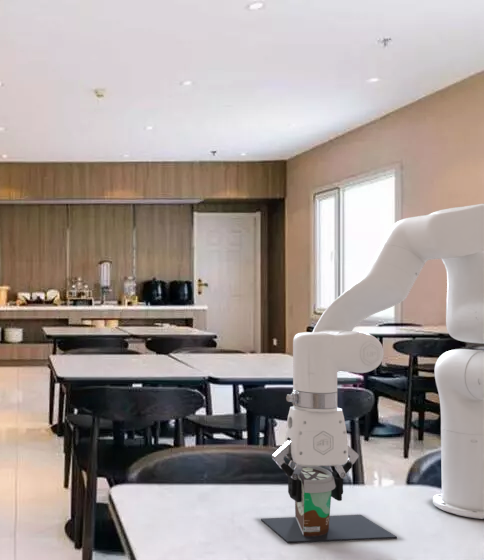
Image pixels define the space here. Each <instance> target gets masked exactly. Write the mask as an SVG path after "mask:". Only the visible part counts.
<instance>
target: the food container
mask: <svg viewBox="0 0 484 560" xmlns="http://www.w3.org/2000/svg"><path fill="white" fill-rule="evenodd" d="M299 479H300V480H301V492H302V501H301V502H296V501H295V500H294V509H295V510H294V511H295V512H294V515H295V516H294V517H295V518H296V520H297V522H298V525H299V527H300V529H301V531H302V534H303V536H320V535H324V534H326V533H327V532H328V531H329V518H330V516H331V503H332V497H331V490H333V489H335V487H336V485H335V481H334V477H333V476H332V471H331V470H328V469H327V468H324V467H323V466H312V467H305V466H304V467H303V469H302V471H301V473H300V475H299Z"/></svg>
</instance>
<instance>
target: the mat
mask: <svg viewBox="0 0 484 560" xmlns="http://www.w3.org/2000/svg"><path fill="white" fill-rule="evenodd" d="M260 520H261V522H263V524H265V525H266V526H267V527H268V528H269V529H271V530H272V531H273V532H274V534H276V535H278V536H279V538H281V539H282V540H283V541H284V542H286V543H287V544H298V543H299V544H302V543H303V544H304V543H305V544H306V543H322V542H324V543H325V542H345V541H347V542H348V541H369V540H391V539H393V540H395V539H398V536H397V535H395V534H393V533H391V532H390V531H388V530H387V529H385V528H383V527H382V526H380V525H378V524H377V523H376V522H374V521H372V520H370V519H369V518H367V517H365V516H363V515H362V514H345V515H343V514H341V515H330V518H329V531H328V532H327V533H326V534H324V535H320V536H303V534H302V531H301V529H300V527H299V525H298V522H297V520H296V518H295V516H293V517H292V516H291V517H272V518H271V517H269V518H268V517H267V518H260Z"/></svg>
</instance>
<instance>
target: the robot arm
mask: <svg viewBox="0 0 484 560" xmlns="http://www.w3.org/2000/svg"><path fill="white" fill-rule="evenodd" d="M430 260H440V261H442V263H443V265H444V267H445V271H446V280H447V281H446V283H447V286H446V287H447V288H446V291H447V292H446V306H445V307H446V309H445V327H446V331H447V333H448V335H449V336H450V337H451V338H452V339H454V340H456V341H460V342H464V343H471V344H481V345H482V344H483V345H484V203H478V204H471V205H465V206H457V207H449V208H445V209H439V210H436V211H433V212H431V213H429V214H425V215H418V216H411V217H405V218H402V219H400V220H397V221H396V222H395V223H393V224H392V225H391V226H390V228H389V229H388V231H387V232H386V234H385V236H384V238H383V239H382V242H381V243H380V245H379V247H378V249H377V250H376V252H375V254H374V256H373V258H372V260H371V261H370V263H369V265H368V266H367V268H366V270H365V271H364V273H363V275H362V276H361V278H360V279H359V280H358V281H356V282H355V283H354V284H352V285H350V286H349V287H348V288H347V289H346V290H345V291H344V292H342V294H340V295H339V296H338V297H336V298H335V299H334V300H333V301H332V302H331V303H330V304H329V305H328V306H327V307H326V309H325V310H323V312H322V314H321V316H320V317H319V318H318V321H317V322H316V324H315V326H314V327H313V330H312V331H305V332H298V333H296V334H295V335H294V336H293V339H292V379H293V380H292V384H293V385H292V387H293V388H292V390H291V393H290V394H289V393H288V394H286V397H285V399H286V402H288V403H291V404H292V406H290V407H289V411H288V415H287V421H286V428H285V439H284V441H285V442H284V443H283V444H282V445H281V446H280V447H279V448H278V449H277V450H276V451H275V452H273V454H271V458H272V460H273V461H274V462H275V464H276V465H277V466H278V468H279V469H281V470H282V471H283V473H284V474H285V475H286V476H287V493H288V495H289V497H290V498H291V499H292V500H293V501H294V502H295V501H296V502H301V501H302V492H301V480H300V479H299V475H300V473H301V471H302V469H303V467H304V466H305V467H312V466H318V467H329V469H330V472H331V473H332V476H333V477H334V481H335V485H336V487H335V489H333V490H331V498H333V499H334V500H336V501H337V502H341V501H342V500H343V494H344V479H345V478H347V474H348V472H349V471H350V470H352V468H353V465H354V464H355V463H356V462H357V460H358V459H359V457H360V456H359V453H357V452H356V451H355V450H354V448H352V447H350V445H349V443H348V433H347V425H346V421H345V416H344V412H343V408H340V407H338V373H339V372H347V373H355V374H364V373H365V374H366V373H369V372H372V371H374V370H376V369H377V368H378V367H380V365H381V364H382V362H383V359H384V356H385V355H384V354H385V352H384V351H385V350H384V347H383V344H382V343H381V341H380V340H379V339H378V338H377V337H375V336H374V335H372V334H370V333H368V332H363V331H356V330H354V329H355V328H356V327H357V326H358V325H359V324H360V323H362V322H363V321H364V320H366V319H367V318H369V317H371V316H373V315H375V314H378V313H380V312H383V311H385V310H388V309H390V308H392V307H394V306H397V305H399V304H400V303H402V302H404V301H405V300H406V299H407V298H408V296H409V294H410V292H411V290H412V289H413V286H414V285H415V282H416V281H417V279H418V277H419V276H420V274H421V272H422V270H423V268H424V267H425V265H426V263H427V262H428V261H430ZM353 330H354V331H353ZM433 373H434V379H435V386H436V389H437V392H438V393H437V394H438V399H439V409H440V465H441V469H440V470H441V479H440V481H441V493H438V494H435V495H434V496H433V497H432V503H433V505H434V506H435V507H436V508H438V509H440V510H442V511H444V512H447V513H450V514H453V515H456V516H461V517H466V518H472V519H480V520H484V350H479V349H470V348H455V349H451V350H448V351H447V350H446V351H445V352H443V353H442V354H441V355H439V357H438V358H437V359H436V362H435V364H434V372H433ZM284 458H286V459H287V460H289V462H288V463H287V462H286V461H285V459H284Z"/></svg>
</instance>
